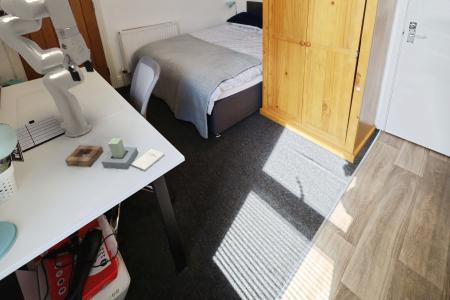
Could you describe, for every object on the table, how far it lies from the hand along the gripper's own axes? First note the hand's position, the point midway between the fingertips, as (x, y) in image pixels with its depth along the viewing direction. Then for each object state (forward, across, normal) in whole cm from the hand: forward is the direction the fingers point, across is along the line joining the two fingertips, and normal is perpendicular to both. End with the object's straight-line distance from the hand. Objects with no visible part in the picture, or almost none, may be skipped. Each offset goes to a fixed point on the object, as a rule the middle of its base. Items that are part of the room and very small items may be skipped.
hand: (84, 76), depth 114 cm
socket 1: (+33, -12, +5) cm, 36 cm away
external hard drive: (+34, -11, -24) cm, 43 cm away
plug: (+33, -12, -12) cm, 37 cm away
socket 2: (+33, -12, -12) cm, 37 cm away
